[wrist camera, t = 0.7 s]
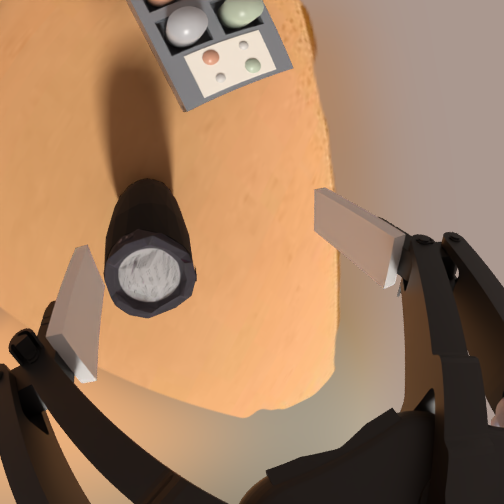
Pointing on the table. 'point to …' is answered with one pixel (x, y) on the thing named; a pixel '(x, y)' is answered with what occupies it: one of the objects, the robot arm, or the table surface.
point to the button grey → (185, 26)
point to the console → (212, 52)
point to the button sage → (239, 12)
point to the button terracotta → (160, 2)
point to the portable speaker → (148, 251)
